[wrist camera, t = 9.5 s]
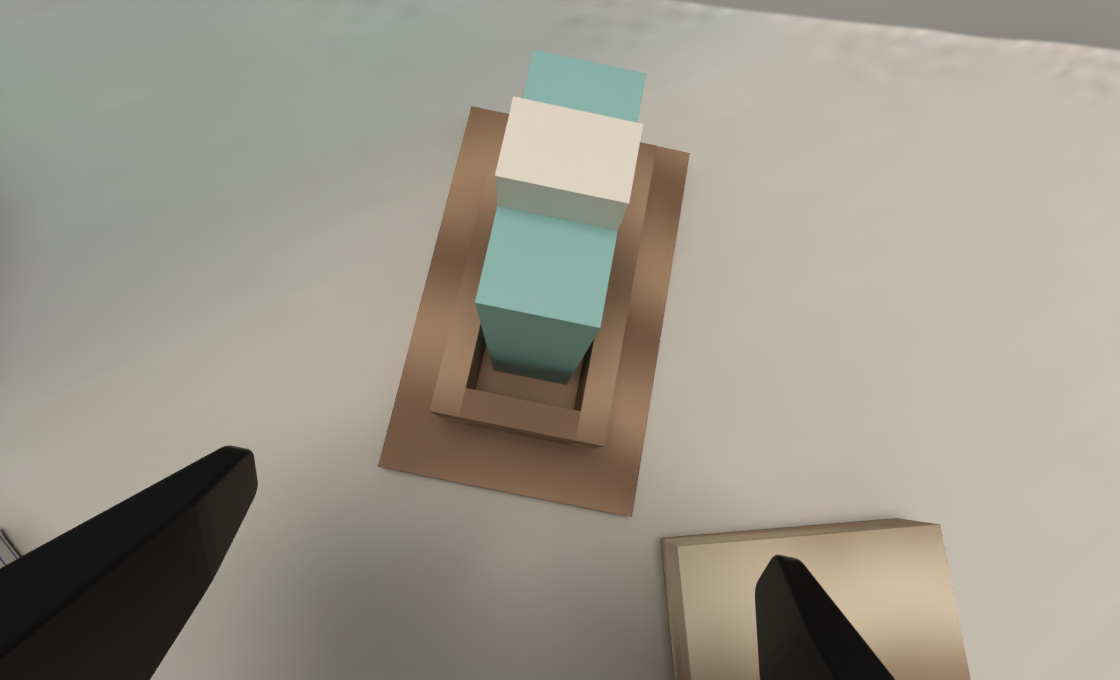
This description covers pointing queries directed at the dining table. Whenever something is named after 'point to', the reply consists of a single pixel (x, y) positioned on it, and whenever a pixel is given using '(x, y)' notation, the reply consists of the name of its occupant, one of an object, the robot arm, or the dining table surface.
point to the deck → (844, 573)
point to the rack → (525, 403)
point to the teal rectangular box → (558, 214)
